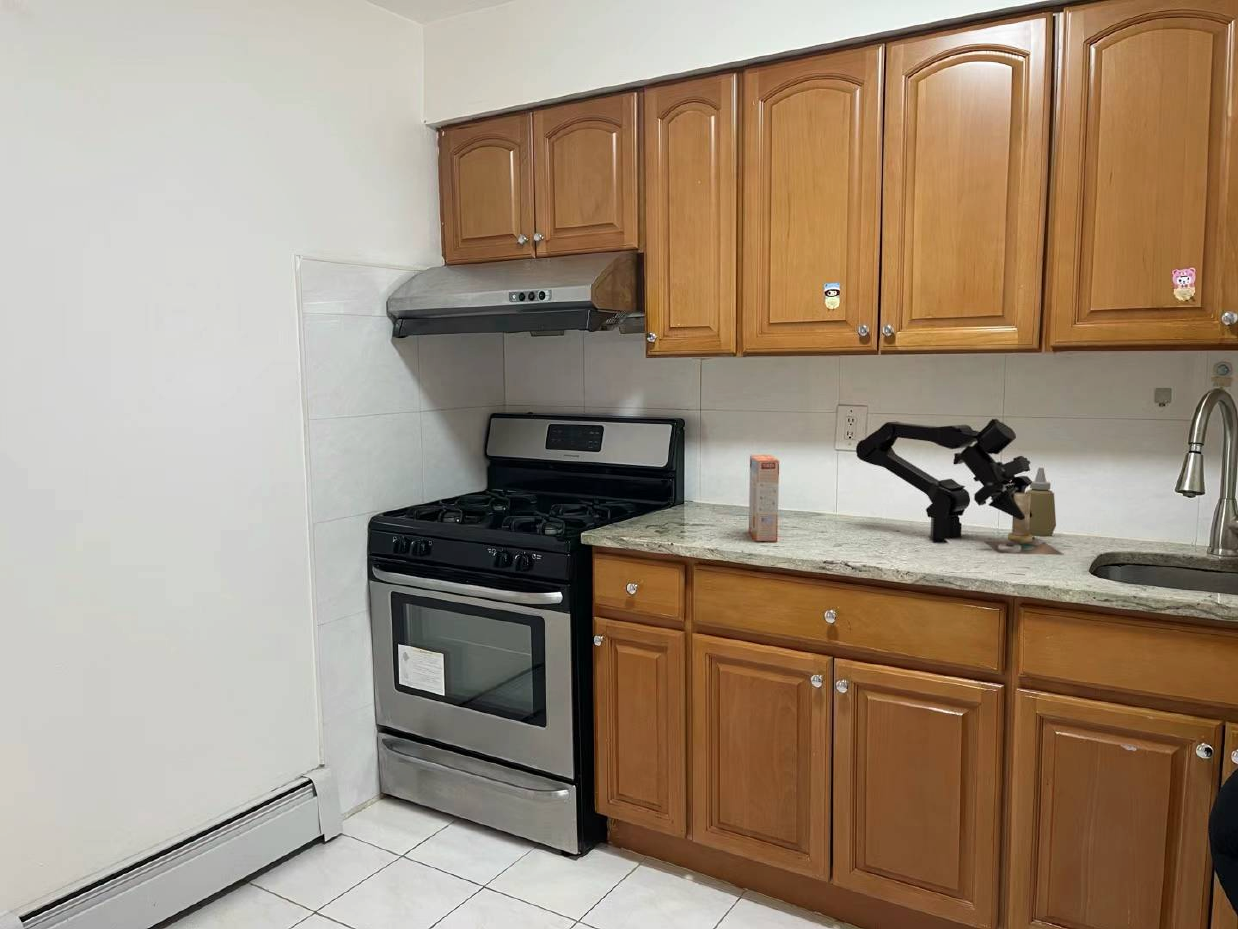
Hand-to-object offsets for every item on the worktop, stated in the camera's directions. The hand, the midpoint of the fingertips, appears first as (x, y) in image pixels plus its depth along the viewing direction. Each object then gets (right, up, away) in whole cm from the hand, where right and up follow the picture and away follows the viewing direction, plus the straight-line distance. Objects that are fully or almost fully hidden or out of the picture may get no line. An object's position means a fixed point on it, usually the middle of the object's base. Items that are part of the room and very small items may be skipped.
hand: (1027, 518), depth 207 cm
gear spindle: (-1, -5, +2) cm, 6 cm away
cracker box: (-58, -6, +23) cm, 63 cm away
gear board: (0, -8, +2) cm, 8 cm away
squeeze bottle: (+11, -6, +19) cm, 23 cm away
